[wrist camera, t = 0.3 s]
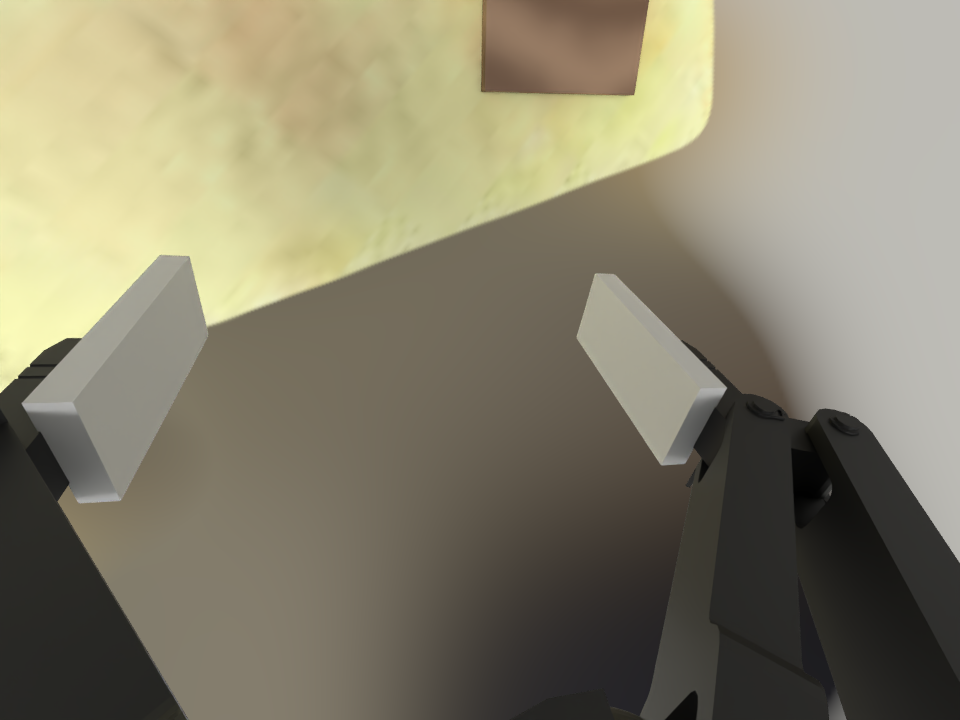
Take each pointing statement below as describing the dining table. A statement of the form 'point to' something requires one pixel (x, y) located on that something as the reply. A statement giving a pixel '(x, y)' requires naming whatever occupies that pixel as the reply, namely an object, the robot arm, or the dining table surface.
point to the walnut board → (562, 46)
